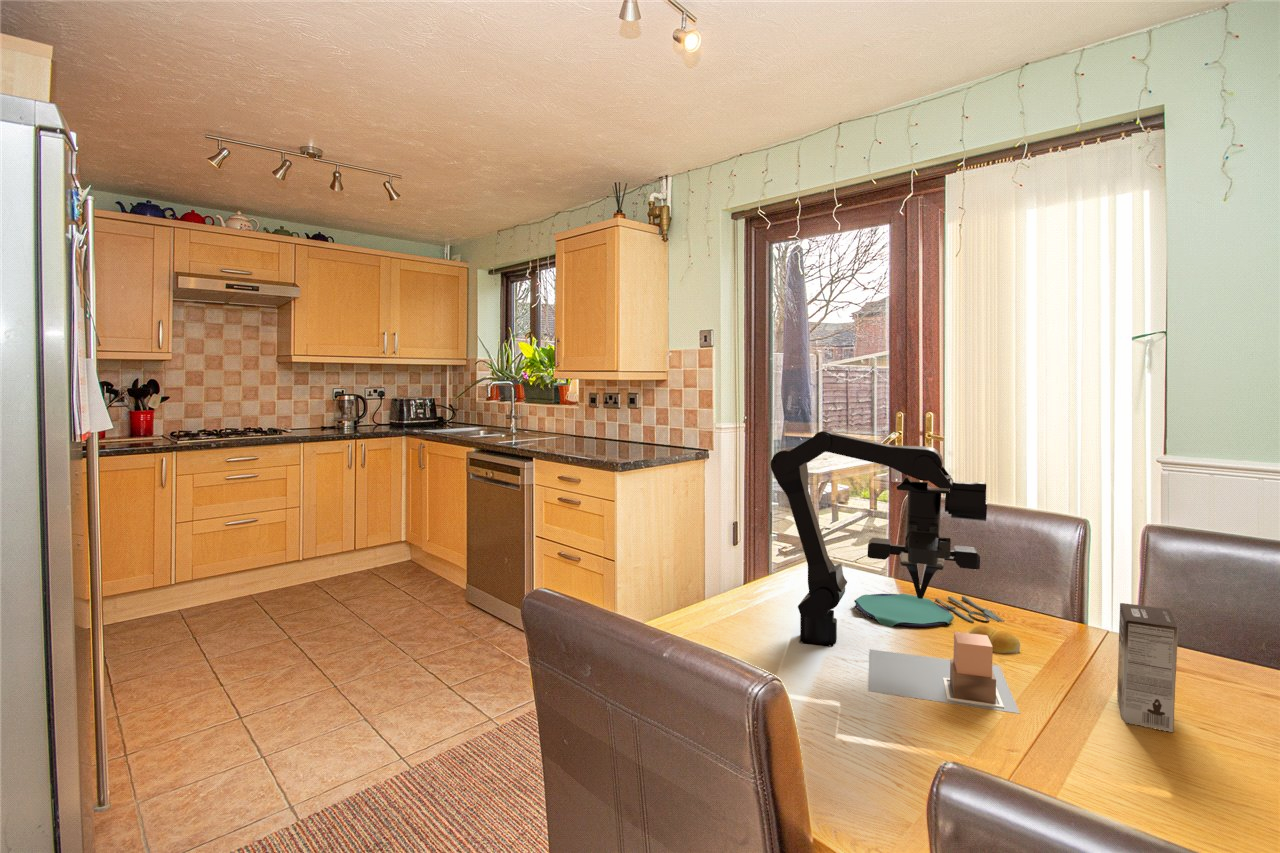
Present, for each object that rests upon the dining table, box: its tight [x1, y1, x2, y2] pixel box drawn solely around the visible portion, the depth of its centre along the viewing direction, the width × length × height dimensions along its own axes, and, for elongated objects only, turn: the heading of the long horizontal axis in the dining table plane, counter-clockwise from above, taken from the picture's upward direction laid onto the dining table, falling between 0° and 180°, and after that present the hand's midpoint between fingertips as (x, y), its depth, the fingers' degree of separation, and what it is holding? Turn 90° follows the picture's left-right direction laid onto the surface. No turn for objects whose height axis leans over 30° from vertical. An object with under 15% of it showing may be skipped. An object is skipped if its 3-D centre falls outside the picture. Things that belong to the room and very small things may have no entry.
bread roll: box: [967, 624, 1021, 654], centre depth 125 cm, size 8×9×4 cm
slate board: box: [867, 649, 1021, 714], centre depth 111 cm, size 22×18×1 cm
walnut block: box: [949, 658, 996, 704], centre depth 105 cm, size 6×6×4 cm
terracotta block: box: [953, 631, 994, 677], centre depth 105 cm, size 5×5×5 cm
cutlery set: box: [854, 593, 1005, 628], centre depth 144 cm, size 20×30×2 cm, turn 94°
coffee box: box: [1116, 602, 1179, 733], centre depth 98 cm, size 9×6×16 cm
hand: (920, 598), depth 119 cm, fingers closed
